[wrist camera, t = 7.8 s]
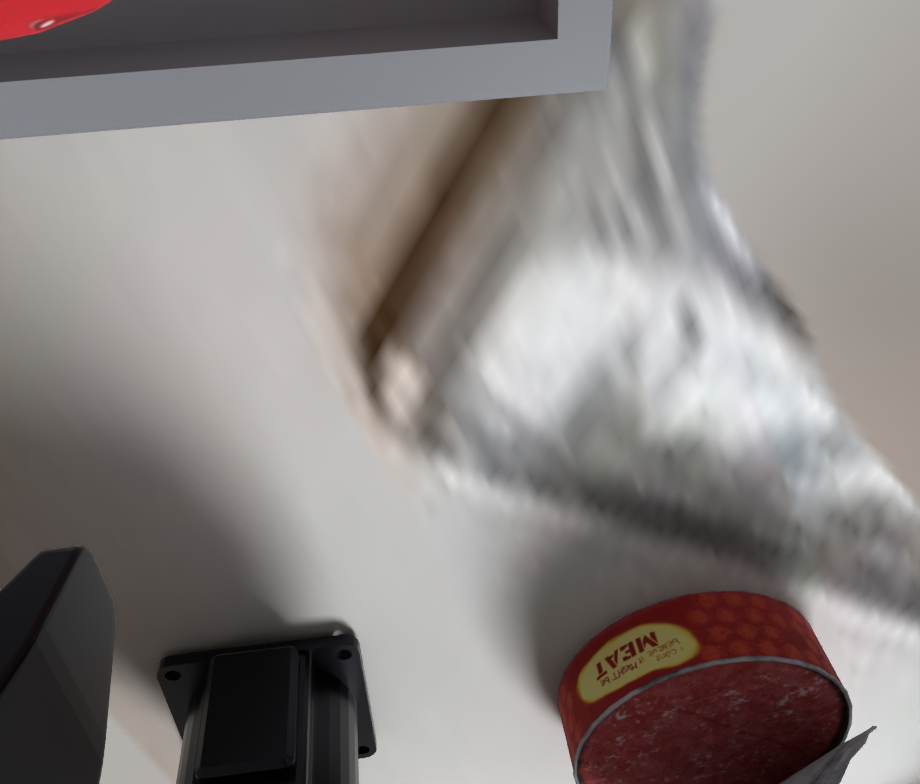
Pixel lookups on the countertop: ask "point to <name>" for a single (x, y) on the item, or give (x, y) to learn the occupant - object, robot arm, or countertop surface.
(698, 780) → the canned food
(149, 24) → the tray
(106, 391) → the countertop surface
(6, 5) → the soda can
